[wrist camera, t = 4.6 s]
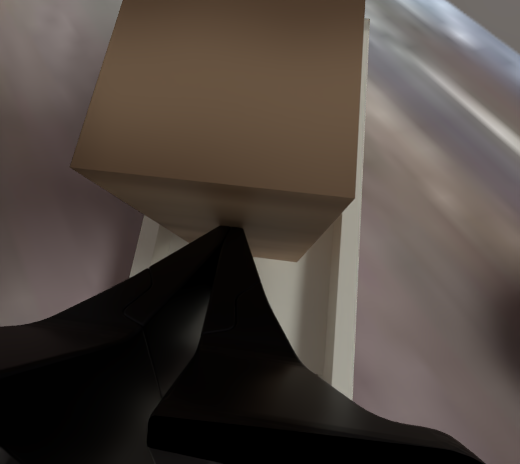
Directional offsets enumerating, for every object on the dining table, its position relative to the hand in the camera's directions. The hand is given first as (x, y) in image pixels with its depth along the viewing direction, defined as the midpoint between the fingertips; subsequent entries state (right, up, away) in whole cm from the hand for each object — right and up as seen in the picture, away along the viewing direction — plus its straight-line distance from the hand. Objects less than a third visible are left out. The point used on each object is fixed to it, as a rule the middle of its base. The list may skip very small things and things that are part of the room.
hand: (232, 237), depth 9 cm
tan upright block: (+1, +3, +8) cm, 8 cm away
